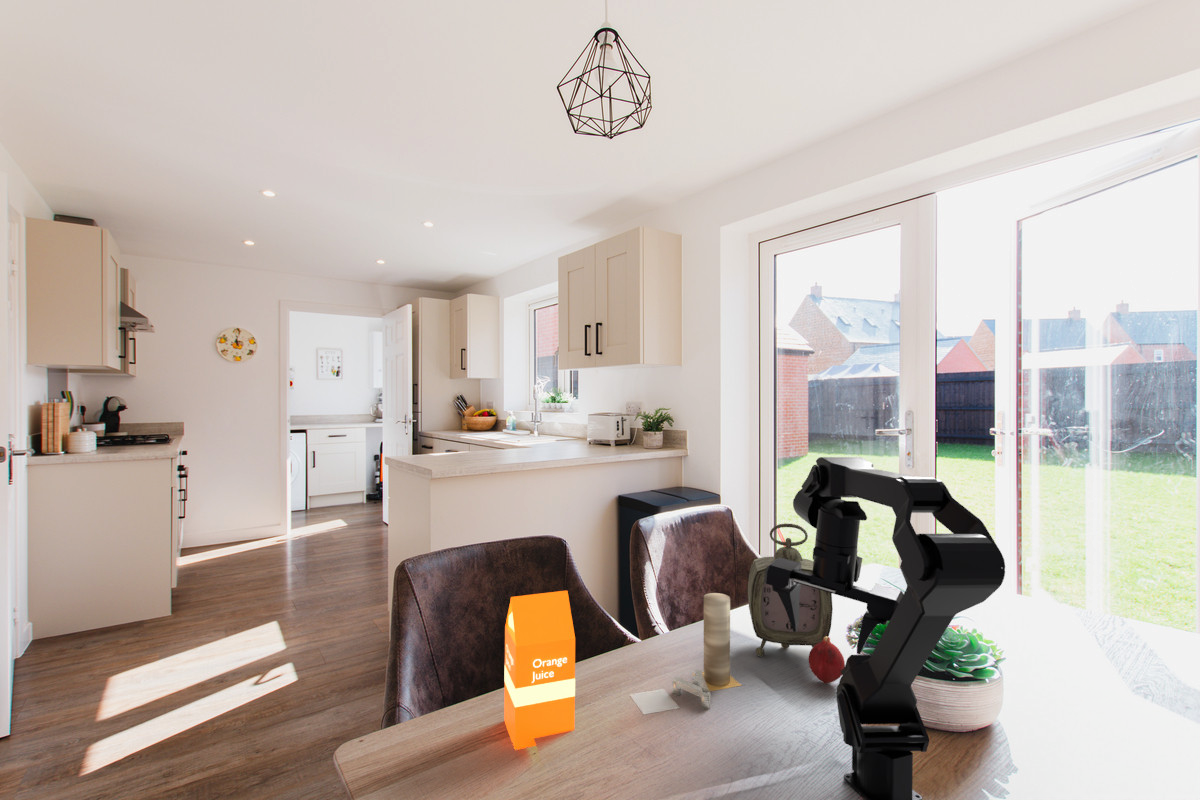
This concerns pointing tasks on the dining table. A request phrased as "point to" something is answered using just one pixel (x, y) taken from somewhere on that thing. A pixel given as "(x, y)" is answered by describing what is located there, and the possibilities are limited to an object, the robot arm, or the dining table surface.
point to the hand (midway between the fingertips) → (826, 641)
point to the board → (667, 698)
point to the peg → (717, 639)
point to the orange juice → (539, 667)
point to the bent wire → (694, 688)
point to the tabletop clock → (771, 611)
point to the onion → (826, 661)
